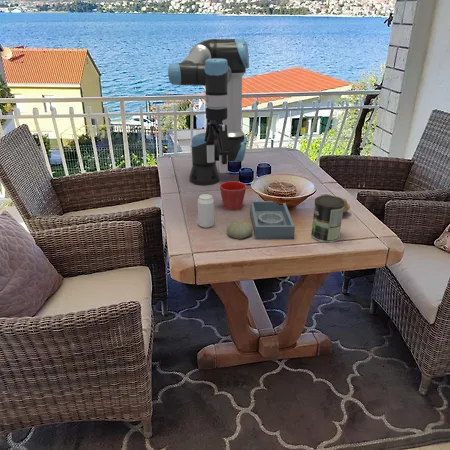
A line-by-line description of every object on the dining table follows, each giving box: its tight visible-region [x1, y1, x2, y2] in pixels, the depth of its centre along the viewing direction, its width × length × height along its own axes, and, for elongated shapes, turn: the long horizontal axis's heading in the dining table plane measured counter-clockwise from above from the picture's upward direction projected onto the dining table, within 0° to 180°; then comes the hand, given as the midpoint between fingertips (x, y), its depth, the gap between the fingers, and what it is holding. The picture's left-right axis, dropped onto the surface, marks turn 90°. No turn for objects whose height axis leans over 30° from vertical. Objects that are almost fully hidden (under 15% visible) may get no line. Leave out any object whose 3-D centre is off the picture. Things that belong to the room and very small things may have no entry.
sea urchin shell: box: [226, 220, 253, 240], centre depth 150 cm, size 9×8×8 cm
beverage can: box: [197, 193, 215, 229], centre depth 155 cm, size 6×6×12 cm
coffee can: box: [310, 195, 345, 244], centre depth 146 cm, size 10×10×14 cm
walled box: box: [249, 200, 296, 240], centre depth 157 cm, size 24×14×5 cm, turn 1°
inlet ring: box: [258, 213, 284, 226], centre depth 157 cm, size 10×10×2 cm
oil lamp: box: [320, 193, 351, 214], centre depth 167 cm, size 11×15×8 cm
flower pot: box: [219, 180, 247, 211], centre depth 172 cm, size 11×11×10 cm
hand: (216, 167), depth 148 cm, fingers open, 13 cm apart
